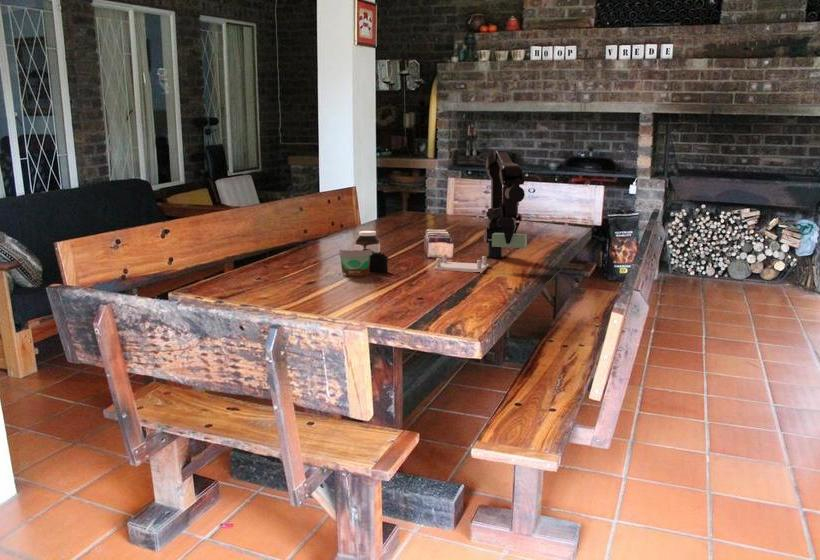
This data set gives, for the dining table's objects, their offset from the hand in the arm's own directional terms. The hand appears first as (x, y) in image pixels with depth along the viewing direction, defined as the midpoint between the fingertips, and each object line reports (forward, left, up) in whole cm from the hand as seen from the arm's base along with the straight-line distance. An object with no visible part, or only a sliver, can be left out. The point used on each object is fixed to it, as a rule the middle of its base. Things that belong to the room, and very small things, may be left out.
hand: (509, 242), depth 269 cm
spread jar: (-9, -61, -11) cm, 62 cm away
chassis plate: (0, -18, -11) cm, 21 cm away
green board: (0, 0, -1) cm, 1 cm away
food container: (+26, -50, -11) cm, 57 cm away
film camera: (+14, -49, -11) cm, 53 cm away
